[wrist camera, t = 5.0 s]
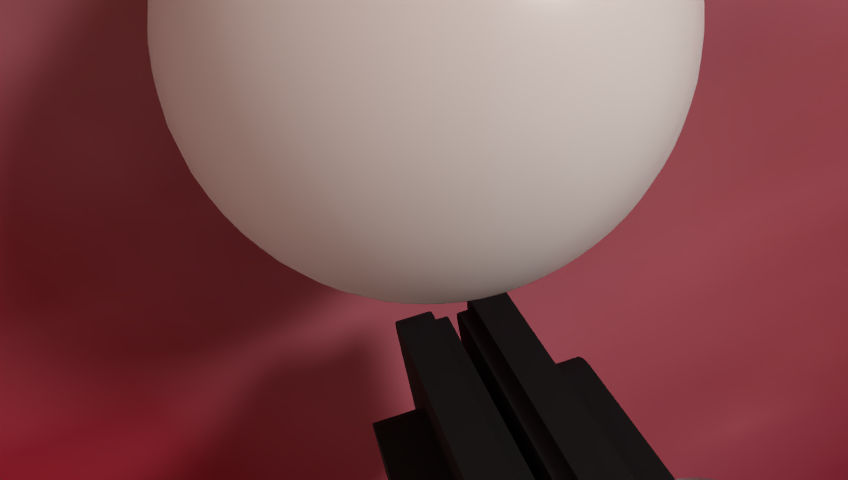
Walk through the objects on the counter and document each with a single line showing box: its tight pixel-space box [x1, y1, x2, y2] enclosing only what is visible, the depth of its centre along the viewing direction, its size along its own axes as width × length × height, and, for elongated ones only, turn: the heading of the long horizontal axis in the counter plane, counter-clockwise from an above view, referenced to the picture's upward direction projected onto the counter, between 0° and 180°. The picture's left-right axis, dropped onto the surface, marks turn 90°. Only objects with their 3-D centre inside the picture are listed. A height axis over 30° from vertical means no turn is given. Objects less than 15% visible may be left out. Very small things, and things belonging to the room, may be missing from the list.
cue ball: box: [147, 0, 704, 304], centre depth 8 cm, size 6×6×6 cm
